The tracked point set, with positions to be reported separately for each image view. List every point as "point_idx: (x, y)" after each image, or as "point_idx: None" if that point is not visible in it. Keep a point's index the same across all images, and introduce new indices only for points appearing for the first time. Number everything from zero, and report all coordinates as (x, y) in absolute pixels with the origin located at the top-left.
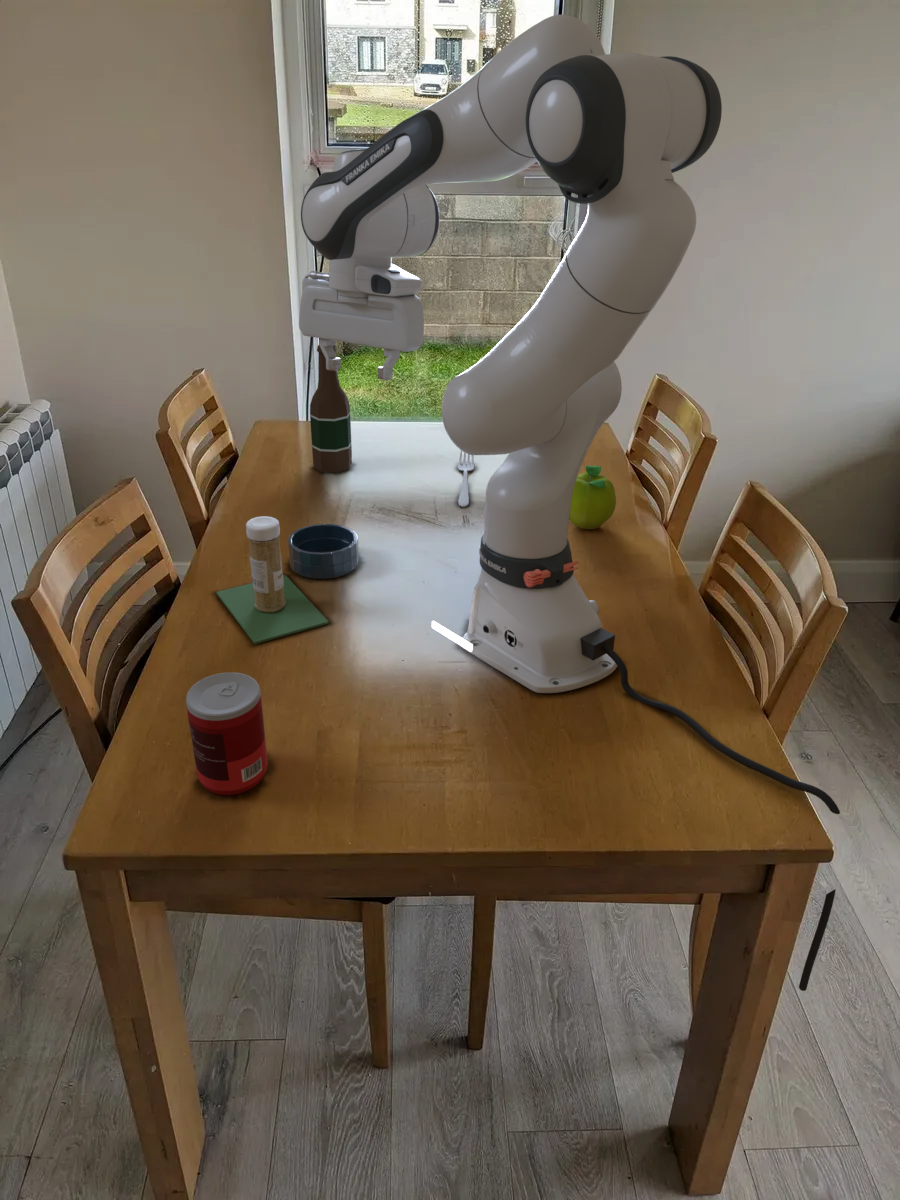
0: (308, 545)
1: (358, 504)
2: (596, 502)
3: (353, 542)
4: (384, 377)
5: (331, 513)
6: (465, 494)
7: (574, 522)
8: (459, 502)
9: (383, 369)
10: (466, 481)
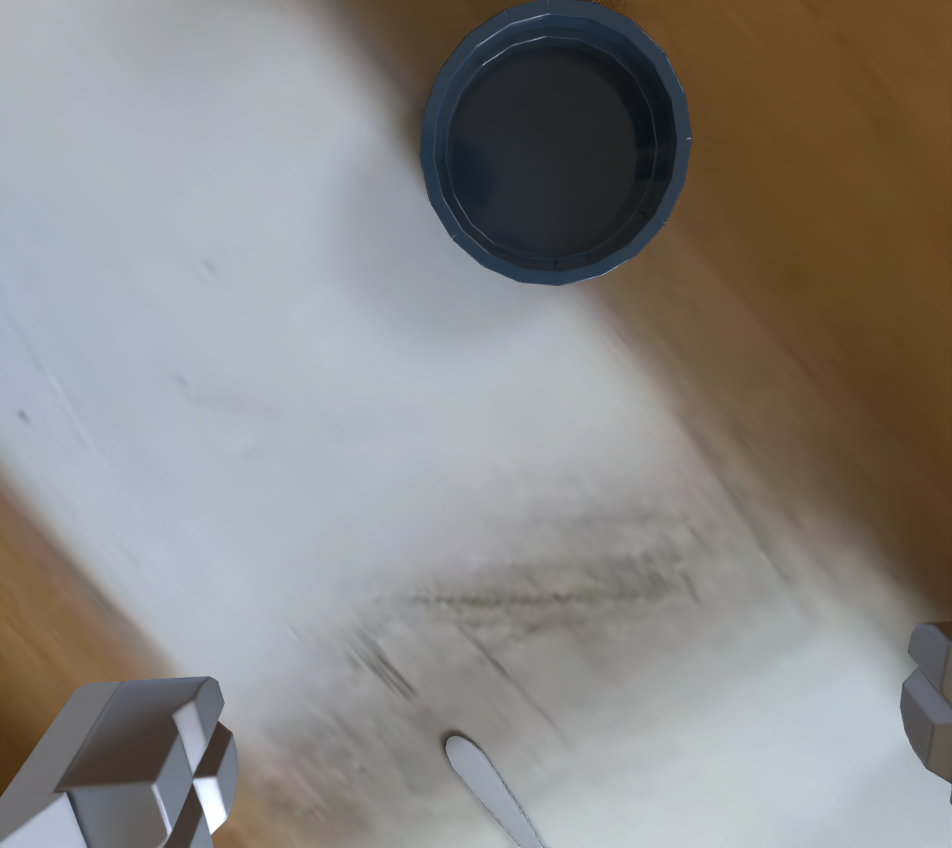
0: (646, 178)
1: (743, 569)
2: None
3: (437, 196)
4: (82, 691)
5: (777, 465)
6: (491, 800)
7: None
8: (474, 750)
9: (55, 774)
10: None
